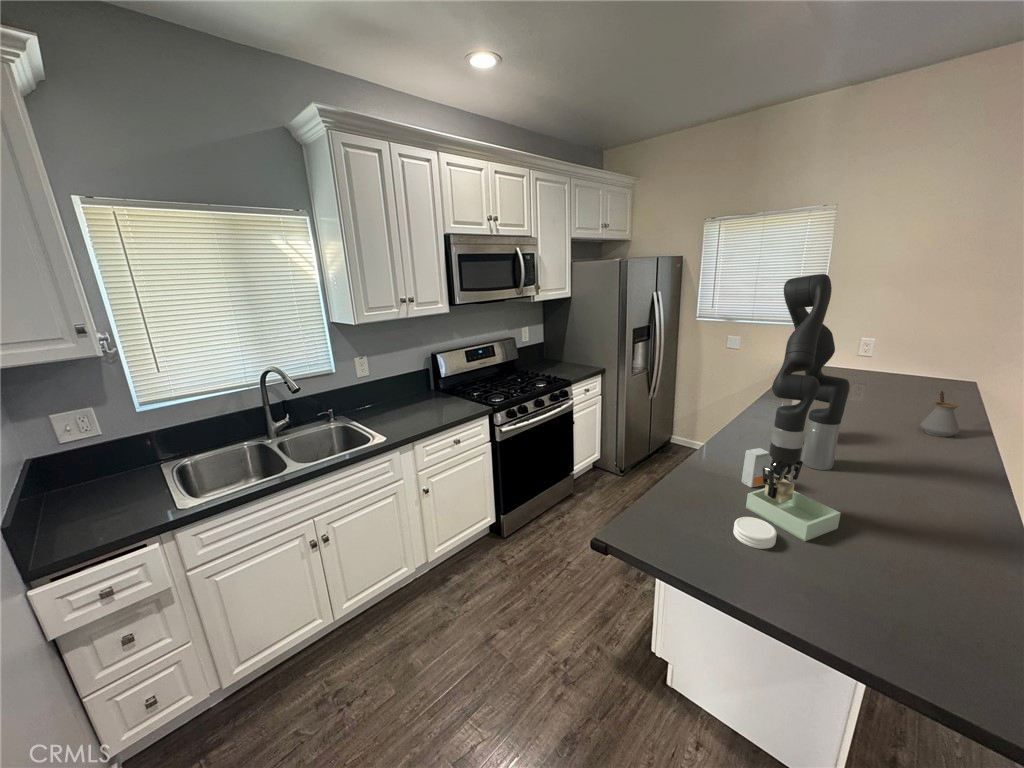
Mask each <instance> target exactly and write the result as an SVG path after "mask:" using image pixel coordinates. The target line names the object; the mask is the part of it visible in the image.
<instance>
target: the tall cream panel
mask: <svg viewBox="0 0 1024 768" xmlns="http://www.w3.org/2000/svg"><path fill="white" fill-rule="evenodd" d="M791 401H792V402H791V405H796V404H798V403H799V402H800V400H792V399H791ZM817 401H818V400H814V401H813V403H812V404H811V406H810V408H809V410H808V413H807V416H806V421H805V427H804V440H803V444H804V441H805V435H806V429H807V423H808V417H809V412H810V411H811V410H814V409H816V407H817Z"/></svg>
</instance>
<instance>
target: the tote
mask: <svg viewBox="0 0 1024 768" xmlns="http://www.w3.org/2000/svg"><path fill="white" fill-rule="evenodd" d="M764 493H765V487H763V488H760V489H758V490H755V491H751V492H749V493H747V495H746V504H745V509H747V510H749V511H750V512H752V513H754V514H756V515H757V516H759V517H761V518H763V520H766V521H768V523H771V524H773V525H775V526H777V527H778V528H780V529H781V530H784V531H786V532H787V533H789V534H790V535H792V536H794V537H795V538H797V539H799V540H800V541H803V542H807V541H810V540H812V539H815V538H817V537H820V536H822V535H825V534H827V533H830V532H832V531H835V530H837V529H838V528H839V523H840V519H841V514H842V513H841V512H840V511H838V510H836V509H834V508H832V507H830V506H827V505H826V504H824V503H821V502H819V501H817V500H815V499H813V498H811V497H808V496H806V495H804V494H802V493H800V492H798V491H796V490H794V491H793V497H792V499H791V500H788V501H785V502H782V503H779V502H777V501H775V500H773V499H771V498H769V497H767V496H766V495H764Z"/></svg>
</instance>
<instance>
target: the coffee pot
mask: <svg viewBox="0 0 1024 768" xmlns="http://www.w3.org/2000/svg"><path fill="white" fill-rule="evenodd" d="M937 394H938V395H940V396H939V399H940V402H934V405H935V408H934V409H933V410H932V411H931V412H930V413H929V414H928V415H927V416H926V417H925V418H924V419H923V420H922V421H921V422H920V424H919V426H920V428H921V429H922V430H923V431H925V433H927V434H929V435H931V436H936V437H942V438H951V437H952V436H955V435H958V434H959V433H960V430H961V429H960V427H959V424H958V423H959V422H958V421H957V418H956V415H955V412H954V411H955V409H957V408H958V407H959V406H958V405H956V404H954V403H949V402H945V396H944V395H945V394H946V392H945V391H943V390H941V391H938V392H937Z"/></svg>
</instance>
